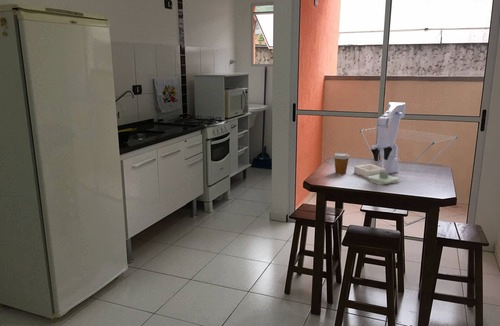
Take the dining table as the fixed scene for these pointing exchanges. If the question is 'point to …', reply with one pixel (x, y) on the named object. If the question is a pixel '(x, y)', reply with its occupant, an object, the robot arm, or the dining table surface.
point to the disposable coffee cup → (341, 162)
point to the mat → (381, 183)
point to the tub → (367, 170)
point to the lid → (383, 178)
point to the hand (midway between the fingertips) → (380, 160)
